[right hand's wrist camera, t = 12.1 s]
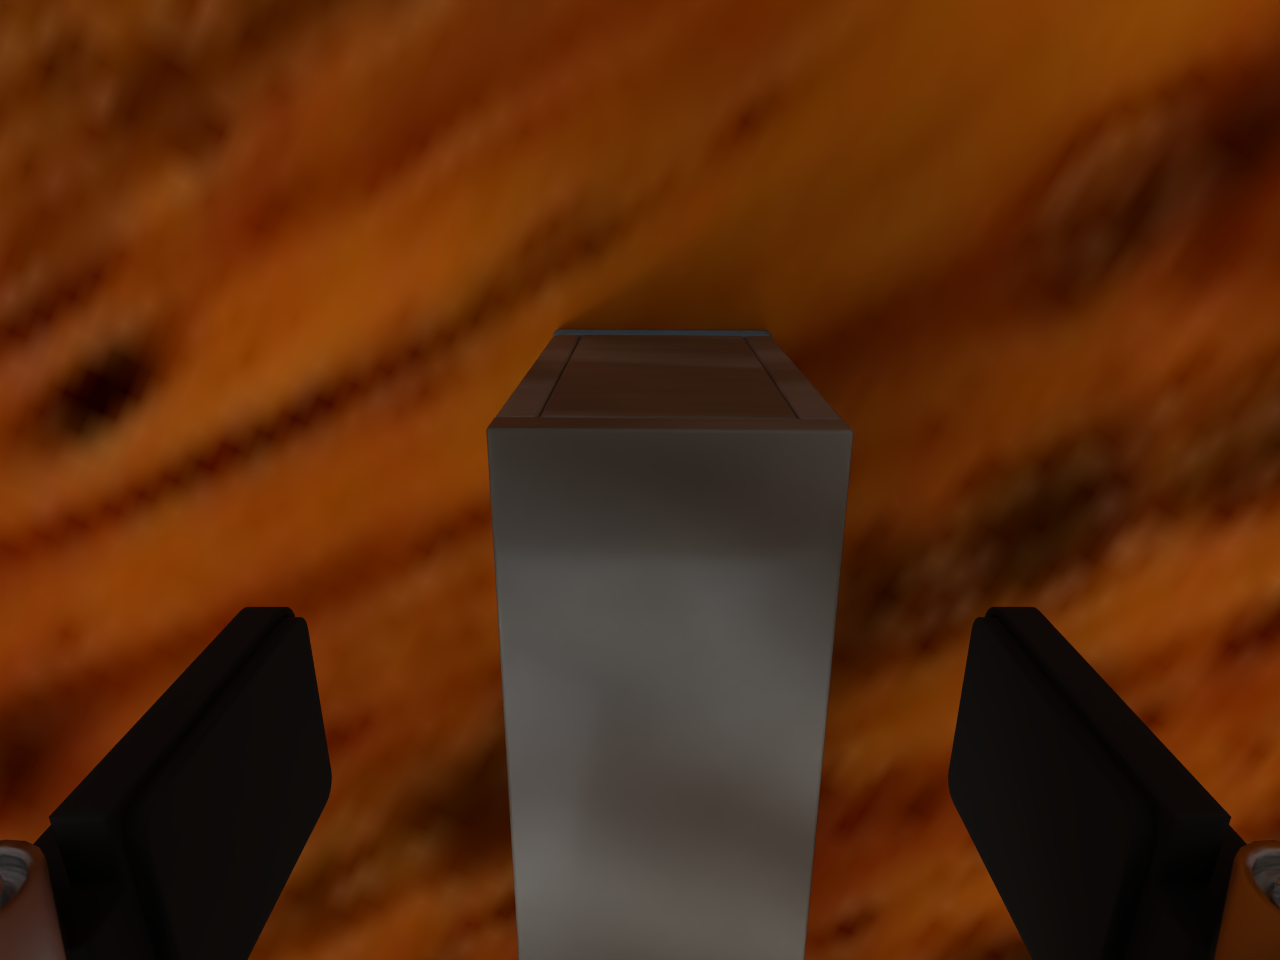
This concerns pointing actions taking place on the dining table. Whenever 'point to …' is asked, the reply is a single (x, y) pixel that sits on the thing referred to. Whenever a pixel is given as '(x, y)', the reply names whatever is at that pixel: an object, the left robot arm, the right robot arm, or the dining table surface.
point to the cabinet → (665, 641)
